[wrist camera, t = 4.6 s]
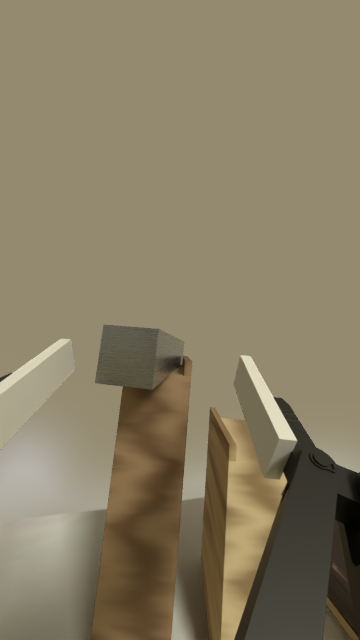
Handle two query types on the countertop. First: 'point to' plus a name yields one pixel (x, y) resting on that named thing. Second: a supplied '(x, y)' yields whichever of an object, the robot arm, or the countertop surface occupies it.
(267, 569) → the robot arm
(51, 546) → the countertop surface
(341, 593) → the hardcover book
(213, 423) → the tall pale wooden plank
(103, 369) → the dark gray metal block
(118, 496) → the brown wooden block
